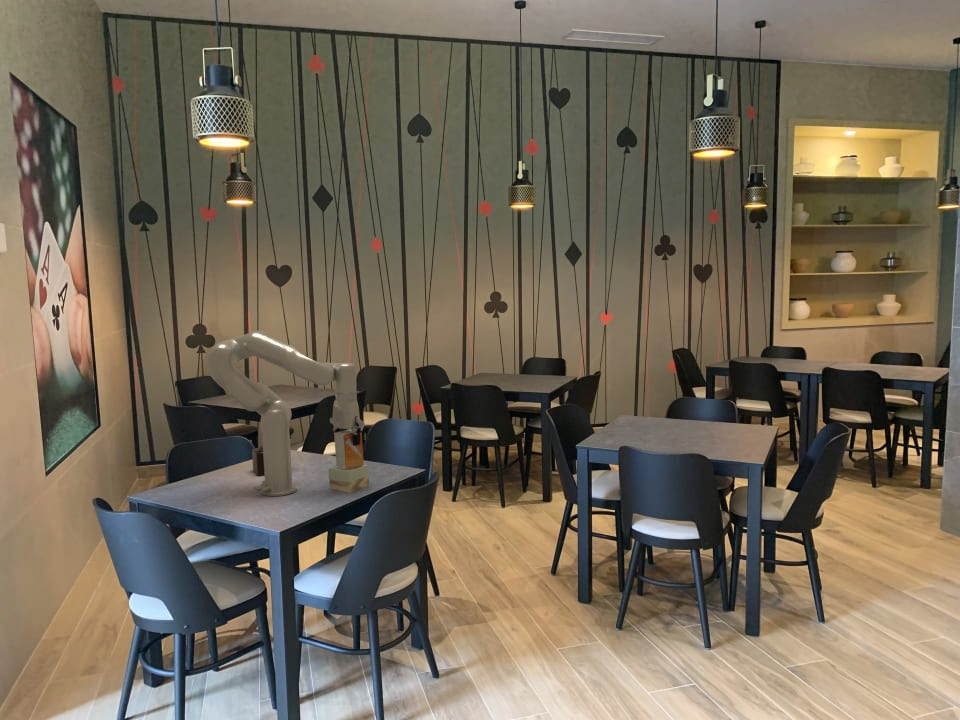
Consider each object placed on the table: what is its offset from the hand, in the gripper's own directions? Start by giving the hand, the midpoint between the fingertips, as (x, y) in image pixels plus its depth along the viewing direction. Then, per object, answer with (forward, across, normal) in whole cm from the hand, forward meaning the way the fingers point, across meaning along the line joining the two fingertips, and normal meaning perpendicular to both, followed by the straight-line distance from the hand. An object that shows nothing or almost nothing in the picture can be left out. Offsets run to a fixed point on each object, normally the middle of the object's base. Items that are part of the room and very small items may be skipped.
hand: (347, 443), depth 268 cm
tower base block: (+17, 0, 0) cm, 17 cm away
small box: (+9, 0, +1) cm, 9 cm away
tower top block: (+13, 0, 0) cm, 13 cm away
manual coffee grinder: (+17, -44, 0) cm, 47 cm away
